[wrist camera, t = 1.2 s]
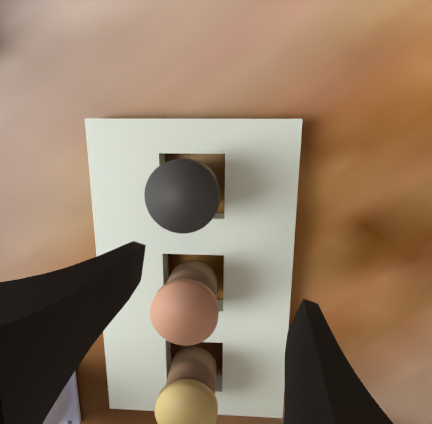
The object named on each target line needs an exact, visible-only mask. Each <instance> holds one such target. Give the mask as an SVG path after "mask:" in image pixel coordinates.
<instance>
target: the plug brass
mask: <svg viewBox="0 0 432 424" xmlns="http://www.w3.org/2000/svg"><path fill="white" fill-rule="evenodd" d="M216 372H217V364H216V361H215V359H214V357H213V356H212V355H211V354H210V353H209V352H208V351H206V350H205V349H202V348H199V347H187V348H184V349H182V350H180V351H179V352H177V353H176V355H175V356H174V358H173V360H172V364H171V368H170V371H169V375H168V378H167V382H166V385H165V386H164V387H163V389H162V390H161V391H160V393H159V396H158V399H157V402H156V405H155V418H156V421H157V423H158V424H216V422H217V413H218V402H217V399H216V396H215V385H216Z"/></svg>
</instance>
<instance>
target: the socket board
mask: <svg viewBox="0 0 432 424" xmlns="http://www.w3.org/2000/svg"><path fill="white" fill-rule="evenodd" d="M302 120H303V119H85V127H86V139H87V150H88V162H89V173H90V185H91V196H92V208H93V220H94V231H95V243H96V254H97V256H99V255H102V254H104V253H107V252H109V251H111V250H114V249H116V248H118V247H120V246H123V245H125V244H127V243H130V242H132V241H135V242H138V243H141V244H144V245H146V247H145V255H144V262H143V269H142V277H141V281H140V283H139V285H138V286H137V288H136V290H135V291H134V293H133V294H132V296H131V297H130V299H129V300H128V301H127V303H126V304H125V305H124V306H123V308H122V309H121V310H120V311H119V313H118V314H117V315H116V316H115V317H114V319H113V320H112V321H111V322H110V323H109V325H108V326H107V327H106V328H105V330H104V331H103V335H104V347H105V358H106V370H107V381H108V393H109V405H110V409H127V410H145V411H155V405H156V402H157V399H158V396H159V393H160V391H161V390H162V389H163V387H164V386H165V385H166V382H167V378H168V375H169V371H170V368H171V342H169V341H167V340H165V339H164V338H163V337H161V336H160V335H159V334H158V333H157V331H156V330H155V328H154V327H153V325H152V322H151V318H150V308H151V304H152V301H153V299H154V297H155V295H156V294H157V292H158V290H159V289H160V288H161V287H162V286H163V285H165V284H166V283H167V281H168V279H169V271H168V254H194V255H224V290H223V299H217V302H218V306H219V314H218V322H217V326H216V328H215V330H214V332H213V333H212V334H211V336H210V337H208V338H207V339H206V340H204V341H203V342H213V343H223V369H222V375H216V385H215V396H216V399H217V402H218V413H217V415H234V416H252V417H269V418H283V404H284V389H285V349H286V341H287V333H288V329H289V314H290V299H291V284H292V269H293V254H294V239H295V224H296V209H297V194H298V179H299V164H300V149H301V134H302ZM165 153H182V154H225V212H224V213H216V214H215V216H214V217H213V219H212V220H211V221H210V222H209V223H208V224H207V225H206V226H205V227H203V228H202V229H200V230H198V231H195V232H192V233H185V234H181V233H174V232H171V231H168V230H166V229H164V228H162V227H161V226H160V225H158V224H157V223H156V222H155V221H154V220H153V218H152V217H151V216H150V214H149V212H148V210H147V207H146V204H145V197H144V194H145V186H146V183H147V181H148V178H149V177H150V175H151V174H152V172H153V171H154V170H155V169H156V168H157V167H159V166H160V165H162V164H163V163H165Z"/></svg>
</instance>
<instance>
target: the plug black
mask: <svg viewBox="0 0 432 424" xmlns="http://www.w3.org/2000/svg"><path fill="white" fill-rule="evenodd" d="M144 197H145V204H146V207H147V210H148V212H149V214H150V216H151V217H152V218H153V220H154V221H155V222H156V223H157V224H158V225H160V226H161V227H162V228H164V229H166V230H168V231H171V232H174V233H181V234H185V233H192V232H195V231H198V230H200V229H202V228H203V227H205V226H206V225H207V224H208V223H209V222H210V221H211V220H212V219H213V217H214V216H215V214H216V211H217V209H218V205H219V200H220V191H219V186H218V181H217V178H216V175H215V173H214V172H213V171H212V169H211V168H210V167H209V166H207V165H206V164H204V163H202V162H199V161H194V160H190V159H175V160H171V161H168V162H165V163H163V164H162V165H160V166H159V167H157V168H156V169H155V170H154V171H153V172H152V174H151V175H150V177H149V178H148V181H147V183H146V186H145V194H144Z"/></svg>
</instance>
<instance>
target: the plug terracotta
mask: <svg viewBox="0 0 432 424" xmlns="http://www.w3.org/2000/svg"><path fill="white" fill-rule="evenodd" d="M216 293H217V277H216V275H215V273H214V271H213V270H212V269H211V268H210V267H209V266H208V265H207V264H205V263H203V262H200V261H195V260H189V261H185V262H182V263H180V264H179V265H177V266H176V267H175V268H174V269H173V271H172V273H171V275H170V277H169V279H168V281H167V283H166V284H165V285H163V286H162V287H161V288H160V289H159V290H158V292H157V294H156V295H155V297H154V299H153V301H152V304H151V308H150V318H151V322H152V325H153V327H154V328H155V330H156V331H157V333H158V334H159V335H160V336H161V337H163V338H164V339H165V340H167V341H169V342H171V343H174V344H177V345H184V346H189V345H195V344H198V343H201V342H203V341H204V340H206V339H207V338H208V337H210V336H211V334H212V333H213V332H214V330H215V328H216V326H217V322H218V314H219V306H218V302H217V299H216Z"/></svg>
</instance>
